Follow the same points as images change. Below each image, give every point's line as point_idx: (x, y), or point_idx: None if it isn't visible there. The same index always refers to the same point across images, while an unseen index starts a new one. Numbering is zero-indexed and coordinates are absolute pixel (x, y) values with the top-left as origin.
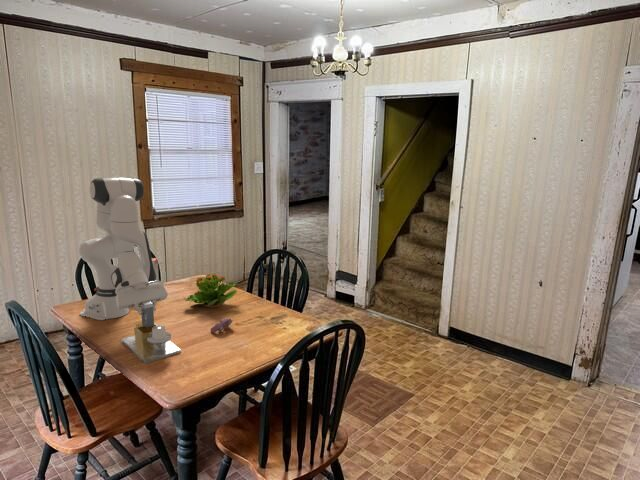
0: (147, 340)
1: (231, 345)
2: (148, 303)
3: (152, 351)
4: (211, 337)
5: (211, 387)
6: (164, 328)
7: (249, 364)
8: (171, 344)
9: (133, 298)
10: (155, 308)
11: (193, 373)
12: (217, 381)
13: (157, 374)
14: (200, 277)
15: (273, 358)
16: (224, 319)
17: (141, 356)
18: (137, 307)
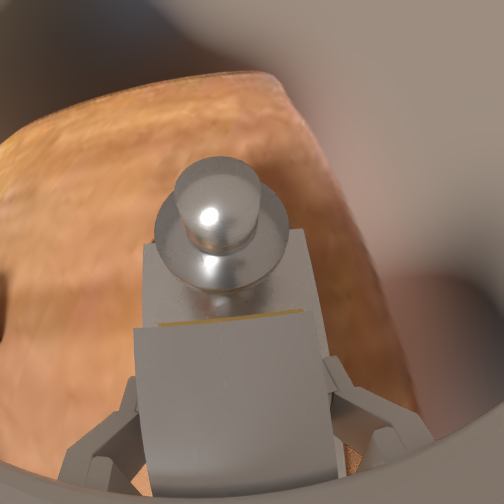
0: (288, 225)
1: (21, 212)
2: (213, 361)
3: (251, 292)
4: (17, 301)
5: (185, 78)
6: (186, 171)
7: (71, 117)
8: (153, 313)
9: (493, 501)
10: (129, 384)
11: (185, 123)
12: (162, 87)
13: (274, 157)
14: None
15: (30, 124)
16: None
17: (305, 272)
18: (384, 407)
